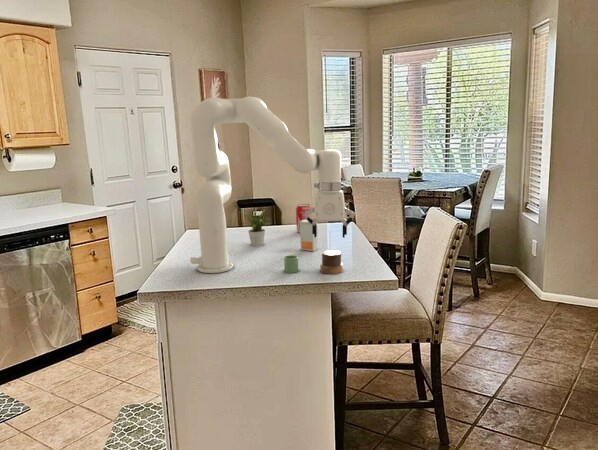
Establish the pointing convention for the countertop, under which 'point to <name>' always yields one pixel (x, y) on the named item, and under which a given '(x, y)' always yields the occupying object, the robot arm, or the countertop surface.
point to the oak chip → (331, 269)
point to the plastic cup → (291, 264)
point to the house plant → (257, 228)
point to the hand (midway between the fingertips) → (329, 236)
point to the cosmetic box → (307, 237)
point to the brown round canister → (331, 258)
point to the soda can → (301, 214)
